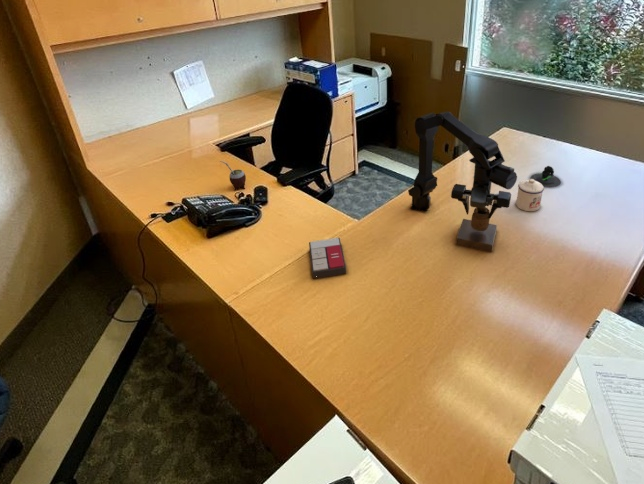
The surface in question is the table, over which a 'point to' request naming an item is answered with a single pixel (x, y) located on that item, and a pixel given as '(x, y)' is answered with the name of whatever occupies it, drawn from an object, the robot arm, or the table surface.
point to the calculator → (327, 258)
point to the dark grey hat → (547, 178)
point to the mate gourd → (237, 178)
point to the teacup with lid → (529, 195)
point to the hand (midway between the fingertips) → (478, 215)
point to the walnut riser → (476, 236)
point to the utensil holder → (480, 219)
